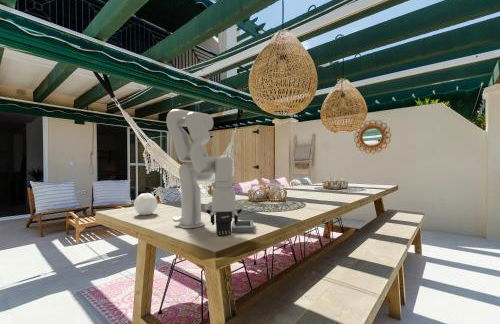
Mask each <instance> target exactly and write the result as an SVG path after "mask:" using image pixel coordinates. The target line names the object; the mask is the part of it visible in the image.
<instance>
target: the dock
mask: <svg viewBox="0 0 500 324" xmlns="http://www.w3.org/2000/svg"><path fill="white" fill-rule="evenodd" d="M254 233H255V227H254V220H253V219H251V220H248V219H242V220H240V219H239V220H238V222H236V225H234V220H232V222H231V234H254Z"/></svg>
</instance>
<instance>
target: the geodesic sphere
mask: <svg viewBox="0 0 500 324" xmlns="http://www.w3.org/2000/svg"><path fill="white" fill-rule="evenodd" d="M133 207H134V210H135V212H136V213H137V214H139V215H142V216H148V215H152V214H153V213H154V212H155V211H156V210H157V207H158V199H157V198H156V197H155V195H154V194H153V193H152V192H150V193H149V192H145V193H140V194H139V195H138V196H137V197H136V198H135V200H134V201H133Z"/></svg>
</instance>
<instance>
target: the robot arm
mask: <svg viewBox="0 0 500 324" xmlns="http://www.w3.org/2000/svg"><path fill="white" fill-rule="evenodd" d="M166 127H167V129H168V132H169V134H170V137H171V138H172V141H173V145H174V148H175V152H176V156H177V158H178V160H179V161H180V162H182V164H181V165H180V166H179V168H178V176H179V180H180V182H179V183H180V194H181V195H180V196H181V197H180V201H181V203H180V204H181V216H179V217H177V216H176V217H175V216H173V219H172V221H173V222H176V223H177V222H178V227H179V228H181V229H197V228H201V227H203V226H204V225H205V221H203V220H202V201H201V200H202V198H201V197H202V194H201V193H202V192H201V187H200V185H199V184H198V182H203V181H208V180H210V179H212V177H213V174H214V182H211V186H213V187H214V188H213V189H212V196H211V201H210V202H208V203H206V204H205V205H204V206H203V208H204V209H205V212H206V213H207V214H208V215H209V216H210V224H211V225H212V226H215V224H216V219H215V214H216V212H232V214H234V218H233V221H234V225H236V222H238V221H239V215H240V214H241V212H242V211H243V209H244V207H245V205H244V203H241V202H239V201H237V200H236V192H235V188H234V187H233V159H232V157H230V156H212V155H211V156H209V154H208V150H207V148H206V147H205V145H206V144H208V143H209V141H210V140H211V135H210V132H209V131H210V130H212V129H213V127H214V118H213V116H211V114H208V113H203V112H198V111H191V110H186V109H185V110H184V109H172V110H170V111H169V112H168V113H167V115H166ZM183 127H187V130H188V132H189V134H188V132H187V131H186V130H185V129H184V128H183ZM191 140H192V141H191ZM183 162H184V163H183ZM210 206H211V209H210V208H209V207H210ZM237 206H238V207H239V209H236V207H237Z"/></svg>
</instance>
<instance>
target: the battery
mask: <svg viewBox="0 0 500 324" xmlns="http://www.w3.org/2000/svg"><path fill="white" fill-rule="evenodd" d="M232 222H233V212H215V236H216V237H228V236H231V235H232Z"/></svg>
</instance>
